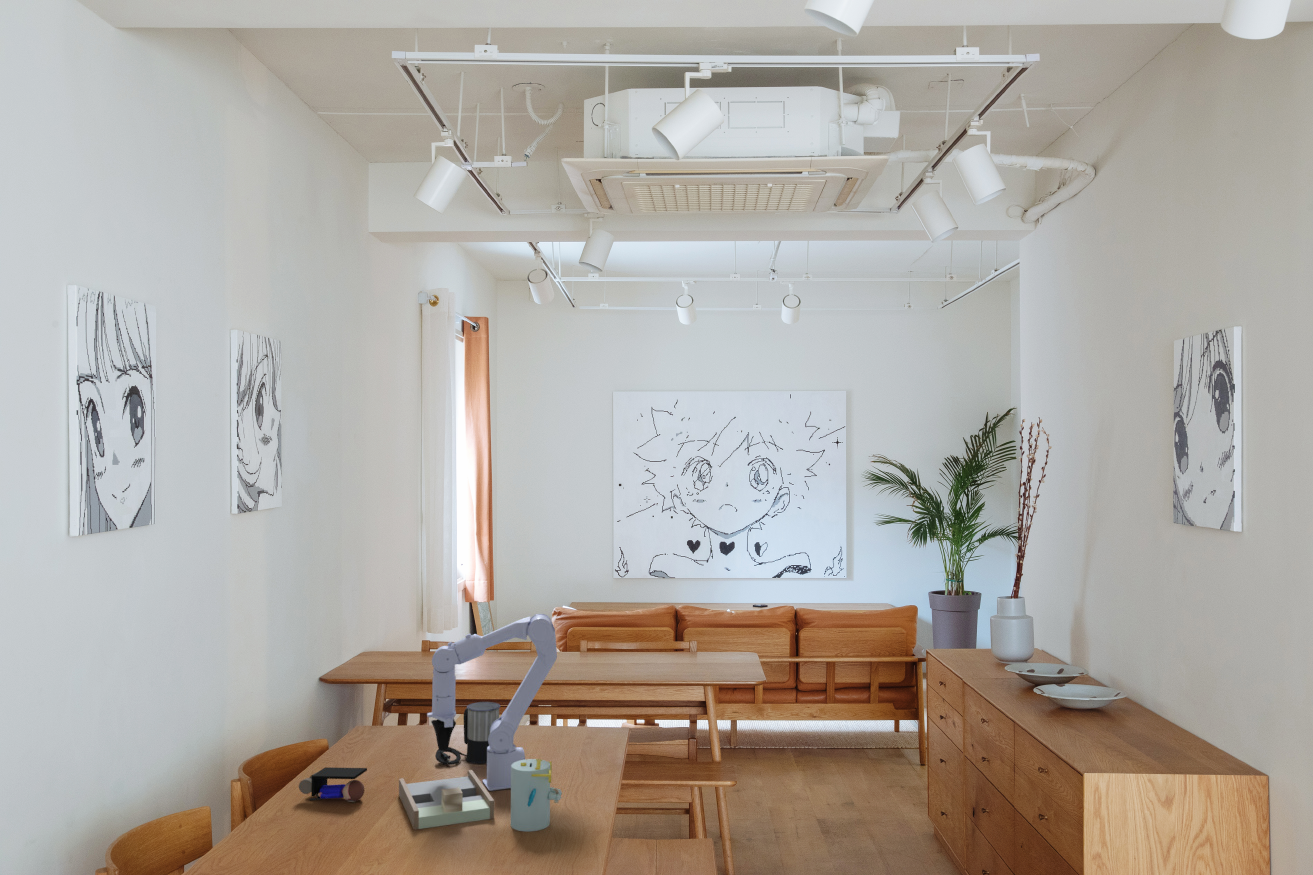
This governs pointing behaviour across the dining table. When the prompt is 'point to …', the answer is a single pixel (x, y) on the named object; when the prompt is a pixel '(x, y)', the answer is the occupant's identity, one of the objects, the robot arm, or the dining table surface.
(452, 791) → the block
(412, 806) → the box
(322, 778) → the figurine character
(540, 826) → the pale blue upright cylinder
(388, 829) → the dining table surface
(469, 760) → the milk frother
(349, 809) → the dining table surface
